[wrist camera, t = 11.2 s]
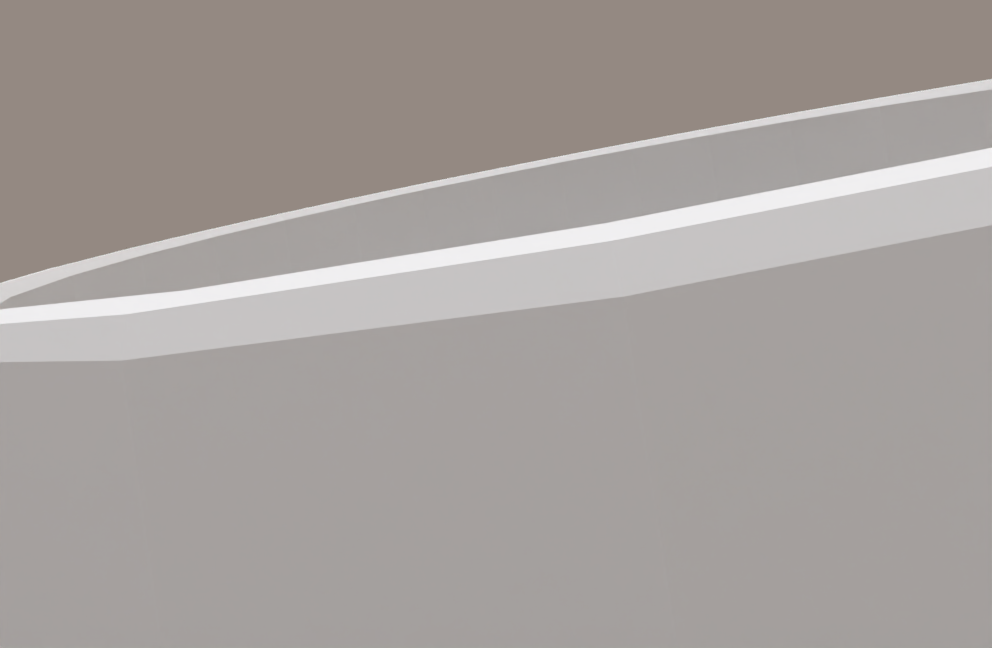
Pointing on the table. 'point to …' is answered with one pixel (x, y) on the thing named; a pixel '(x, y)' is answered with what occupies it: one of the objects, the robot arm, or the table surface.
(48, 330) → the white ceramic vase
